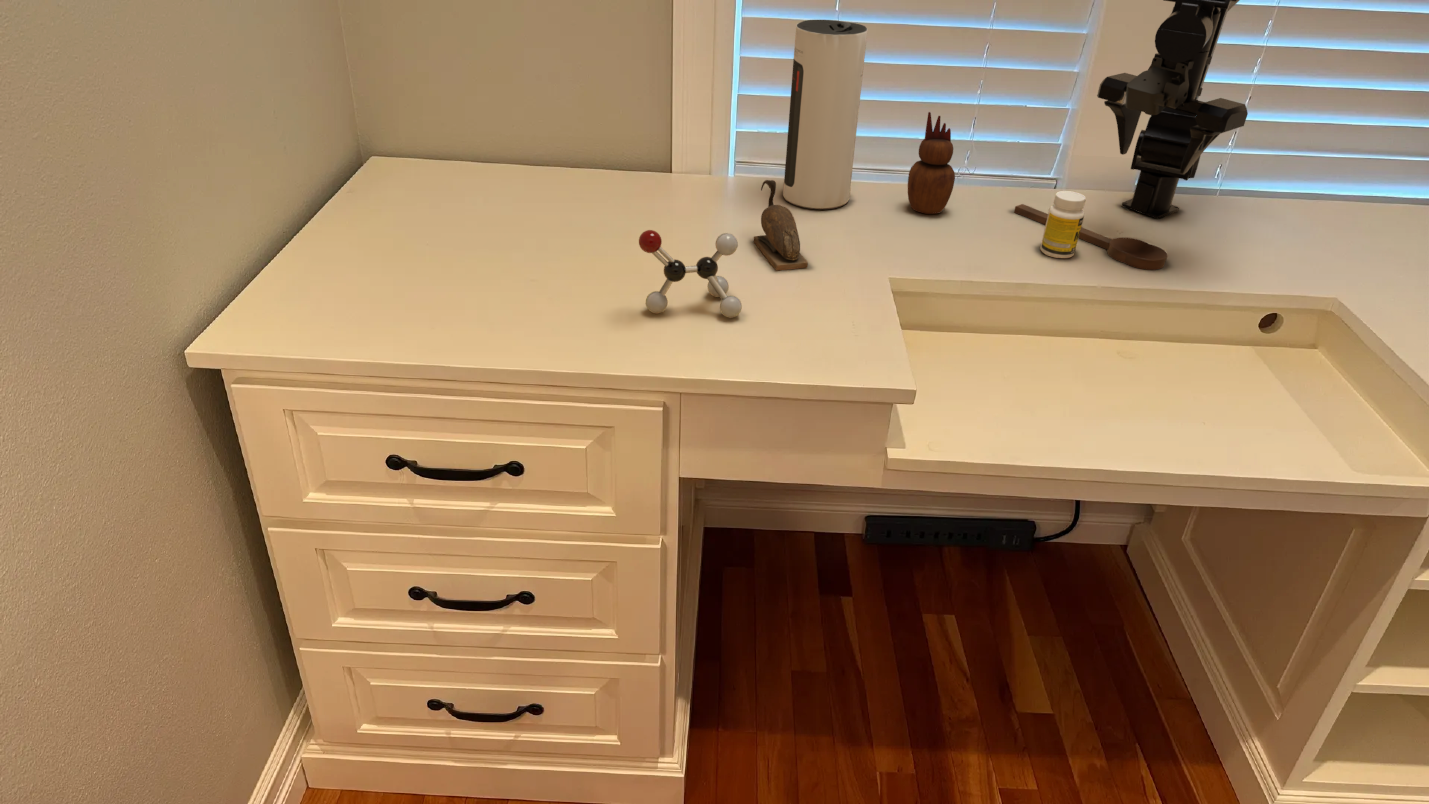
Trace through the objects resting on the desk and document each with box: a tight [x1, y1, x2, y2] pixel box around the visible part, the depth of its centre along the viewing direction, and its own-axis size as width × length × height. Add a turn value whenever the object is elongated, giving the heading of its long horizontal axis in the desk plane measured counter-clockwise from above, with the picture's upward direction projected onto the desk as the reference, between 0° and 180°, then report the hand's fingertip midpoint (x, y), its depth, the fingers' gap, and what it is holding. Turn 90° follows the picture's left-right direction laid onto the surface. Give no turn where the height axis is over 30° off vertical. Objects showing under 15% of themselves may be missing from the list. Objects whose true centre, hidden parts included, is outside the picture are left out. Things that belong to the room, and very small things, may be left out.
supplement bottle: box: [1039, 190, 1087, 259], centre depth 137 cm, size 5×5×8 cm
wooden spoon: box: [1013, 203, 1168, 271], centre depth 144 cm, size 24×6×2 cm, turn 38°
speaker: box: [782, 19, 869, 210], centre depth 147 cm, size 11×10×26 cm
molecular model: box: [638, 229, 743, 319], centre depth 118 cm, size 8×12×11 cm
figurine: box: [753, 179, 809, 271], centre depth 135 cm, size 14×4×9 cm, turn 17°
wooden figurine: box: [907, 111, 956, 215], centre depth 147 cm, size 7×6×15 cm
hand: (1152, 163), depth 137 cm, fingers open, 9 cm apart
